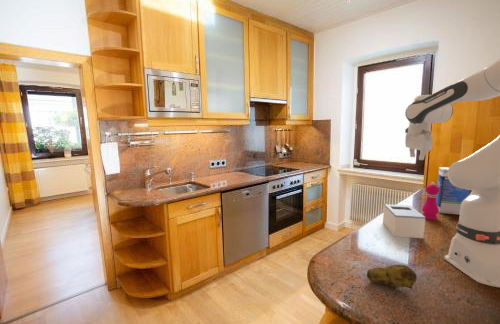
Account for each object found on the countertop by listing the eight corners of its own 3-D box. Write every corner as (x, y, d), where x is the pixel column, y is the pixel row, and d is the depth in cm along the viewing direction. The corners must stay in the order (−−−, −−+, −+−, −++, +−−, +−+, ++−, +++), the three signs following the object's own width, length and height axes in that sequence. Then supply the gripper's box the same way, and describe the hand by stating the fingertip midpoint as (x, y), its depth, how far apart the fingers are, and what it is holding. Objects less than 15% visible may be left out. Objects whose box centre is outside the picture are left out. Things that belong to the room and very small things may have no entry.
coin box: (423, 238, 111) (425, 217, 109) (393, 236, 113) (395, 215, 112) (408, 224, 126) (410, 205, 125) (382, 222, 129) (384, 204, 127)
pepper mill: (432, 215, 138) (436, 180, 135) (440, 220, 131) (445, 183, 128) (418, 215, 139) (422, 180, 136) (426, 220, 132) (430, 183, 129)
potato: (375, 272, 86) (376, 250, 85) (418, 291, 76) (420, 267, 75) (363, 282, 81) (365, 259, 79) (408, 303, 71) (410, 278, 70)
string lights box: (461, 211, 145) (467, 168, 141) (467, 215, 138) (473, 170, 134) (434, 208, 149) (438, 166, 146) (438, 212, 142) (443, 168, 139)
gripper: (438, 130, 108) (435, 161, 110) (417, 129, 128) (414, 155, 130) (422, 130, 110) (419, 161, 112) (403, 129, 129) (401, 155, 131)
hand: (416, 158), depth 121 cm, fingers open, 8 cm apart
